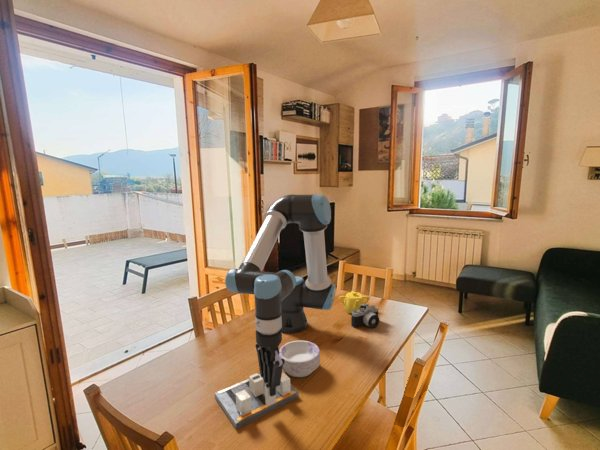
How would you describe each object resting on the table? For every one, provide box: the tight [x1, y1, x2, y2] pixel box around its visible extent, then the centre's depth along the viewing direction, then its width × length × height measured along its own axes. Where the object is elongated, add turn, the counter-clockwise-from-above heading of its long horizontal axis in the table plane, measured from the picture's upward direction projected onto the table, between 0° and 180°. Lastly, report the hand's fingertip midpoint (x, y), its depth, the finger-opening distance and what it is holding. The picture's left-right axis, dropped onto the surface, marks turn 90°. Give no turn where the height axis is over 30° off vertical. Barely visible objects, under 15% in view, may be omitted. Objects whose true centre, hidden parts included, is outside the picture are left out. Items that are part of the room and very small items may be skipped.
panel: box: [214, 372, 300, 430], centre depth 103 cm, size 16×22×7 cm
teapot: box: [339, 290, 370, 315], centre depth 167 cm, size 14×13×10 cm
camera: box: [350, 303, 380, 329], centre depth 151 cm, size 16×9×10 cm, turn 117°
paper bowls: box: [279, 339, 321, 378], centre depth 118 cm, size 15×15×8 cm
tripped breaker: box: [248, 372, 264, 397], centre depth 103 cm, size 4×3×5 cm
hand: (270, 402), depth 96 cm, fingers closed
